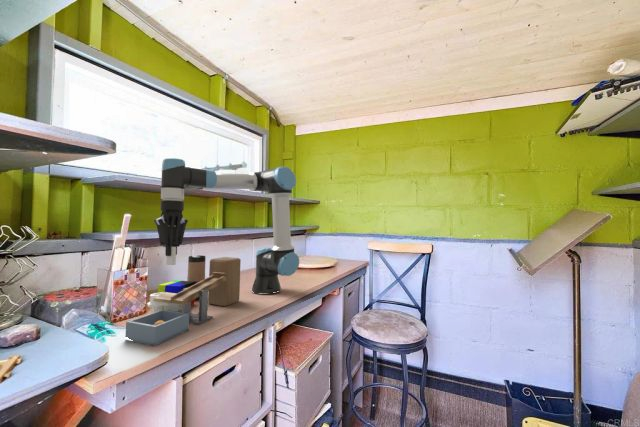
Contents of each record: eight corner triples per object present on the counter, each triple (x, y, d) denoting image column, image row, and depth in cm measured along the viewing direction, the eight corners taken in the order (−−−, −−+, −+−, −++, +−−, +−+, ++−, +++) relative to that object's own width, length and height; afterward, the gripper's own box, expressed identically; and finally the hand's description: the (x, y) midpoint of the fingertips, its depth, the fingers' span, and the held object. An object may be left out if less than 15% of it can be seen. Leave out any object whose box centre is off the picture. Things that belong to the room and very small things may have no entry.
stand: (189, 314, 104) (190, 285, 104) (213, 318, 100) (214, 288, 101) (174, 320, 97) (176, 289, 98) (199, 324, 94) (200, 292, 94)
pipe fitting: (171, 313, 105) (172, 292, 106) (154, 319, 98) (155, 297, 99) (159, 311, 107) (160, 291, 108) (142, 316, 101) (143, 295, 101)
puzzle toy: (178, 311, 108) (179, 286, 109) (157, 309, 110) (158, 284, 111) (194, 304, 118) (195, 281, 118) (174, 302, 120) (175, 280, 120)
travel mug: (199, 300, 123) (201, 257, 124) (183, 300, 123) (185, 257, 124) (206, 296, 131) (208, 255, 132) (191, 296, 131) (193, 255, 132)
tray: (161, 325, 92) (162, 309, 92) (188, 330, 89) (189, 313, 89) (125, 340, 80) (126, 321, 80) (154, 346, 77) (155, 326, 77)
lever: (200, 278, 116) (199, 270, 115) (226, 280, 111) (226, 272, 111) (153, 301, 94) (152, 292, 94) (184, 305, 90) (183, 296, 90)
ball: (149, 323, 83) (151, 334, 84) (158, 325, 82) (159, 335, 83) (159, 317, 87) (161, 327, 87) (167, 318, 86) (169, 329, 86)
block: (207, 304, 118) (208, 258, 119) (222, 298, 127) (224, 256, 128) (225, 307, 114) (226, 260, 115) (240, 301, 124) (241, 257, 125)
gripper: (178, 202, 106) (177, 261, 105) (148, 199, 93) (146, 266, 93) (194, 201, 103) (192, 262, 103) (165, 198, 91) (163, 268, 90)
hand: (171, 264), depth 98 cm, fingers closed
